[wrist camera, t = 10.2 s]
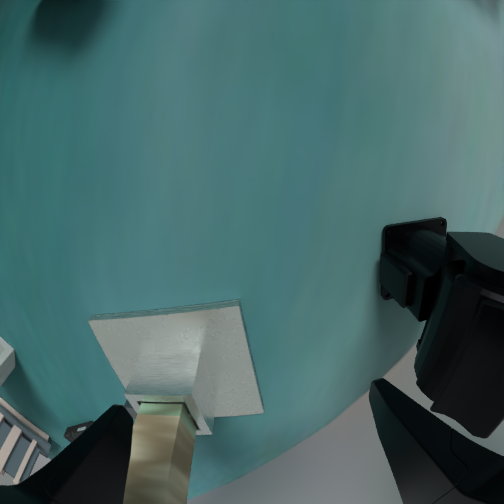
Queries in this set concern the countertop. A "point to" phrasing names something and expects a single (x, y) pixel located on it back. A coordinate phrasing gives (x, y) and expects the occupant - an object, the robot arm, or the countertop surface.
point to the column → (160, 455)
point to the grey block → (6, 360)
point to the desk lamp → (19, 443)
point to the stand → (183, 359)
